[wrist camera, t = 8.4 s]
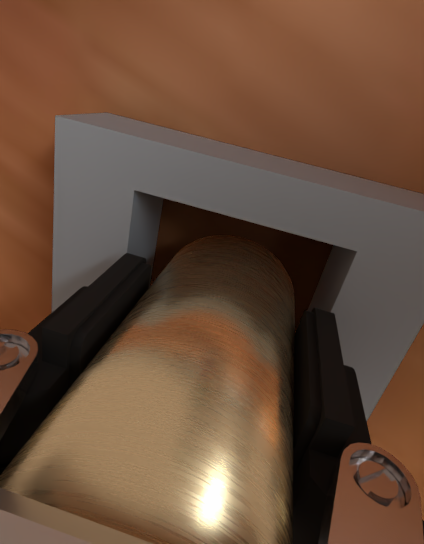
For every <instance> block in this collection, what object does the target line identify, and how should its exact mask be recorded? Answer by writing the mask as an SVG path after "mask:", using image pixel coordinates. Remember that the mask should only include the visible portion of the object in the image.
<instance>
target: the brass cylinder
mask: <svg viewBox="0 0 424 544" xmlns="http://www.w3.org/2000/svg"><path fill="white" fill-rule="evenodd" d="M294 332H295V294H294V288H293V284H292V281H291V278H290V276H289V274H288V272H287V270H286V269H285V267H284V266H283V264H282V263H281V262H280V261H279V260H278V259H277V258H276V256H274V255H273V254H272V253H271V252H270V251H269V250H267V249H266V248H264V247H263V246H261V245H259V244H257V243H255V242H253V241H251V240H248V239H245V238H242V237H237V236H231V235H214V236H208V237H204V238H201V239H198V240H195V241H193V242H191V243H189V244H188V245H186V246H185V247H183V248H182V249H181V250H180V251H179V252H178V253H177V254H176V255H175V256H174V257H173V258H172V260H171V261H170V262H169V263H168V265H167V266H166V267H165V268H164V270H163V271H162V272H161V274H160V275H159V276H158V277H157V279H156V280H155V281H154V282H153V284H152V285H151V286H150V287H149V289H148V290H147V291H146V292H145V294H144V295H143V296H142V297H141V299H140V300H139V301H138V302H137V304H136V305H135V306H134V307H133V309H132V310H131V311H130V313H129V314H128V315H127V316H126V318H125V319H124V320H123V321H122V323H121V324H120V325H119V326H118V328H117V329H116V330H115V331H114V333H113V334H112V335H111V336H110V338H109V339H108V340H107V341H106V343H105V344H104V345H103V347H102V348H101V349H100V350H99V352H98V353H97V354H96V355H95V357H94V358H93V359H92V360H91V362H90V363H89V364H88V365H87V367H86V368H85V369H84V370H83V372H82V373H81V374H80V375H79V377H78V378H77V379H76V380H75V382H74V383H73V384H72V386H71V387H70V388H69V389H68V391H67V392H66V393H65V394H64V396H63V397H62V398H61V399H60V401H59V402H58V403H57V404H56V406H55V407H54V408H53V409H52V411H51V412H50V413H49V414H48V416H47V417H46V418H45V420H44V421H43V422H42V423H41V425H40V426H39V427H38V428H37V430H36V431H35V432H34V433H33V435H32V436H31V437H30V438H29V440H28V441H27V442H26V443H25V445H24V446H23V447H22V448H21V450H20V451H19V452H18V453H17V455H16V456H15V457H14V459H13V460H12V461H11V462H10V464H9V465H8V466H7V467H6V469H5V470H4V471H3V472H2V474H1V475H0V488H2V489H5V490H8V491H11V492H13V493H16V494H19V495H22V496H24V497H27V498H30V499H33V500H35V501H38V502H41V503H44V504H46V505H49V506H52V507H55V508H57V509H60V510H63V511H66V512H68V513H71V514H74V515H77V516H79V517H82V518H85V519H87V520H90V521H93V522H96V523H98V524H101V525H104V526H107V527H109V528H112V529H115V530H117V531H120V532H123V533H126V534H128V535H131V536H134V537H137V538H139V539H142V540H145V541H147V542H150V543H153V544H292V542H293V437H294Z"/></svg>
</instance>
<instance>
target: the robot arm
mask: <svg viewBox="0 0 424 544" xmlns="http://www.w3.org/2000/svg"><path fill="white" fill-rule="evenodd" d="M150 275H151V265H150V264H146V258H143V257H140V256H137V255H133V254H130V253H126V254H124V255H123V256H122V257H121V258H120V259H119V260H117V261H116V262H115V263H114V264H113V265H112V266H111V267H110V268H108V269H107V270H106V271H105V272H104V273H103V274H102V275H101V276H99V277H98V278H97V279H96V280H95V281H94V282H93V283H92V284H90V285H89V286H88V287H87V286H83V287H82V288H80V289H79V290H78V291H77V292H75V293H74V294H73V295H72V296H71V297H70V298H68V299H67V300H66V301H65V302H64V303H63V304H61V305H60V306H59V307H58V308H57V309H56V310H54V311H53V312H52V313H51V314H50V315H49V316H48V317H46V318H45V319H44V320H43V321H42V322H41V323H39V324H38V325H37V326H36V327H35V328H34V329H32V330H31V331H30V332H29V333H28V334H27V333H25V332H21V331H17V330H7V329H2V330H0V475H1V474H2V472H3V471H4V470H5V469H6V467H7V466H8V465H9V464H10V462H11V461H12V460H13V459H14V457H15V456H16V455H17V453H18V452H19V451H20V450H21V448H22V447H23V446H24V445H25V443H26V442H27V441H28V440H29V438H30V437H31V436H32V435H33V433H34V432H35V431H36V430H37V428H38V427H39V426H40V425H41V423H42V422H43V421H44V420H45V418H46V417H47V416H48V414H49V413H50V412H51V411H52V409H53V408H54V407H55V406H56V404H57V403H58V402H59V401H60V399H61V398H62V397H63V396H64V394H65V393H66V392H67V391H68V389H69V388H70V387H71V386H72V384H73V383H74V382H75V380H76V379H77V378H78V377H79V375H80V374H81V373H82V372H83V370H84V369H85V368H86V367H87V365H88V364H89V363H90V362H91V360H92V359H93V358H94V357H95V355H96V354H97V353H98V352H99V350H100V349H101V348H102V347H103V345H104V344H105V343H106V341H107V340H108V339H109V338H110V336H111V335H112V334H113V333H114V331H115V330H116V329H117V328H118V326H119V325H120V324H121V323H122V321H123V320H124V319H125V318H126V316H127V315H128V314H129V313H130V311H131V310H132V309H133V307H134V306H135V305H136V304H137V302H138V301H139V300H140V299H141V297H142V296H143V295H144V294H145V292H146V291H147V290H148V288H149V281H150ZM0 544H153V543H150V542H147V541H145V540H142V539H139V538H137V537H134V536H131V535H128V534H126V533H123V532H120V531H117V530H115V529H112V528H109V527H107V526H104V525H101V524H98V523H96V522H93V521H90V520H87V519H85V518H82V517H79V516H77V515H74V514H71V513H68V512H66V511H63V510H60V509H57V508H55V507H52V506H49V505H46V504H44V503H41V502H38V501H35V500H33V499H30V498H27V497H24V496H22V495H19V494H16V493H13V492H11V491H8V490H5V489H2V488H0ZM292 544H424V521H423V520H422V510H421V497H420V493H419V489H418V486H417V484H416V482H415V480H414V479H413V477H412V475H411V474H410V472H409V471H408V470H407V469H406V468H405V466H404V465H403V464H402V463H401V462H400V461H399V460H397V459H396V458H395V457H394V456H393V455H391V454H390V453H388V452H387V451H385V450H383V449H382V448H380V447H377V446H374V445H372V444H371V441H370V436H369V431H368V427H367V422H366V418H365V413H364V408H363V404H362V399H361V395H360V390H359V385H358V381H357V376H356V372H355V370H354V368H352V367H350V366H346V365H344V363H343V357H342V352H341V346H340V340H339V335H338V329H337V324H336V318H335V314H334V313H331V312H328V311H324V310H321V309H318V308H313V309H312V311H311V312H310V311H306V310H305V311H304V313H303V315H302V318H301V320H300V323H299V325H298V328H297V330H296V333H295V336H294V437H293V542H292Z"/></svg>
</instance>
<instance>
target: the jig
mask: <svg viewBox="0 0 424 544" xmlns="http://www.w3.org/2000/svg"><path fill="white" fill-rule="evenodd" d="M164 198H165V199H168V200H172V201H176V202H179V203H183V204H187V205H190V206H194V207H198V208H201V209H205V210H208V211H212V212H216V213H219V214H223V215H227V216H230V217H234V218H238V219H241V220H245V221H248V222H252V223H256V224H259V225H263V226H267V227H270V228H274V229H278V230H281V231H285V232H288V233H292V234H296V235H299V236H303V237H307V238H310V239H314V240H318V241H321V242H325V243H328V244H332V245H333V247H332V250H331V252H330V255H329V257H328V260H327V262H326V265H325V267H324V270H323V273H322V275H321V278H320V280H319V283H318V285H317V288H316V290H315V293H314V295H313V298H312V300H311V303H310V305H309V308H308V310H307V311H310V312H311V311H312V309H313V308H318V309H321V310H324V311H328V312H331V313H334V314H335V318H336V324H337V329H338V335H339V340H340V346H341V352H342V357H343V363H344V365H346V366H350V367H352V368H354V370H355V372H356V376H357V381H358V385H359V390H360V395H361V399H362V404H363V408H364V413H365V418H366V422H367V420H368V418H369V417H370V415H371V413H372V411H373V410H374V408H375V406H376V404H377V403H378V401H379V399H380V398H381V396H382V394H383V392H384V391H385V389H386V387H387V386H388V384H389V382H390V380H391V379H392V377H393V375H394V373H395V372H396V370H397V368H398V367H399V365H400V363H401V361H402V360H403V358H404V356H405V355H406V353H407V351H408V349H409V348H410V346H411V344H412V343H413V341H414V339H415V337H416V336H417V334H418V332H419V330H420V329H421V327H422V325H423V324H424V194H422V193H418V192H414V191H410V190H406V189H402V188H399V187H395V186H391V185H387V184H383V183H379V182H375V181H371V180H367V179H364V178H360V177H356V176H352V175H348V174H344V173H340V172H336V171H332V170H329V169H325V168H321V167H317V166H313V165H309V164H305V163H301V162H297V161H293V160H290V159H286V158H282V157H278V156H274V155H270V154H266V153H262V152H258V151H255V150H251V149H247V148H243V147H239V146H235V145H231V144H227V143H223V142H220V141H216V140H212V139H208V138H204V137H200V136H196V135H192V134H188V133H184V132H181V131H177V130H173V129H169V128H165V127H161V126H157V125H153V124H149V123H146V122H142V121H138V120H134V119H130V118H126V117H122V116H118V115H114V114H111V113H91V114H73V115H55V162H54V216H53V270H52V312H53V311H54V310H56V309H57V308H58V307H59V306H60V305H61V304H63V303H64V302H65V301H66V300H67V299H68V298H70V297H71V296H72V295H73V294H74V293H75V292H77V291H78V290H79V289H80V288H82V287H83V286H87V287H88V286H89V285H90V284H92V283H93V282H94V281H95V280H96V279H97V278H98V277H99V276H101V275H102V274H103V273H104V272H105V271H106V270H107V269H108V268H110V267H111V266H112V265H113V264H114V263H115V262H116V261H117V260H119V259H120V258H121V257H122V256H123V255H124V254H126V253H130V254H133V255H137V256H140V257H143V258H146V264H150V265H151V275H152V269H153V263H154V256H155V250H156V244H157V237H158V231H159V225H160V218H161V212H162V206H163V199H164ZM151 275H150V281H149V287H150V282H151ZM148 289H149V288H148Z"/></svg>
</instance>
